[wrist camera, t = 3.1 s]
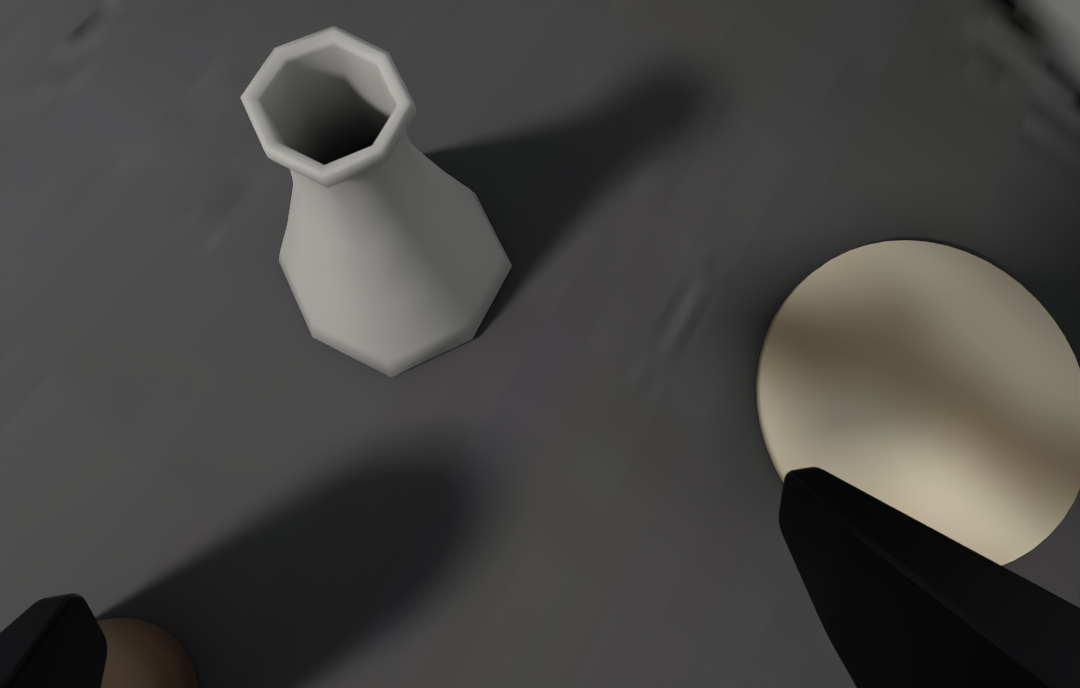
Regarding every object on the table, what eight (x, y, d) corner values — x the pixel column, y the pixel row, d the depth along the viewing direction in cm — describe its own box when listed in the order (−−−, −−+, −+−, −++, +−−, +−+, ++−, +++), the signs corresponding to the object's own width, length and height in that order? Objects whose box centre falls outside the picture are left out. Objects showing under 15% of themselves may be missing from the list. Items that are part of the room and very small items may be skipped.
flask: (404, 127, 25) (344, -116, 15) (549, 269, 24) (585, 108, 14) (242, 262, 23) (57, 89, 14) (390, 418, 22) (307, 353, 13)
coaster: (1063, 612, 22) (1078, 615, 22) (727, 524, 22) (733, 525, 22) (1087, 291, 25) (1101, 286, 24) (785, 212, 25) (792, 205, 24)
